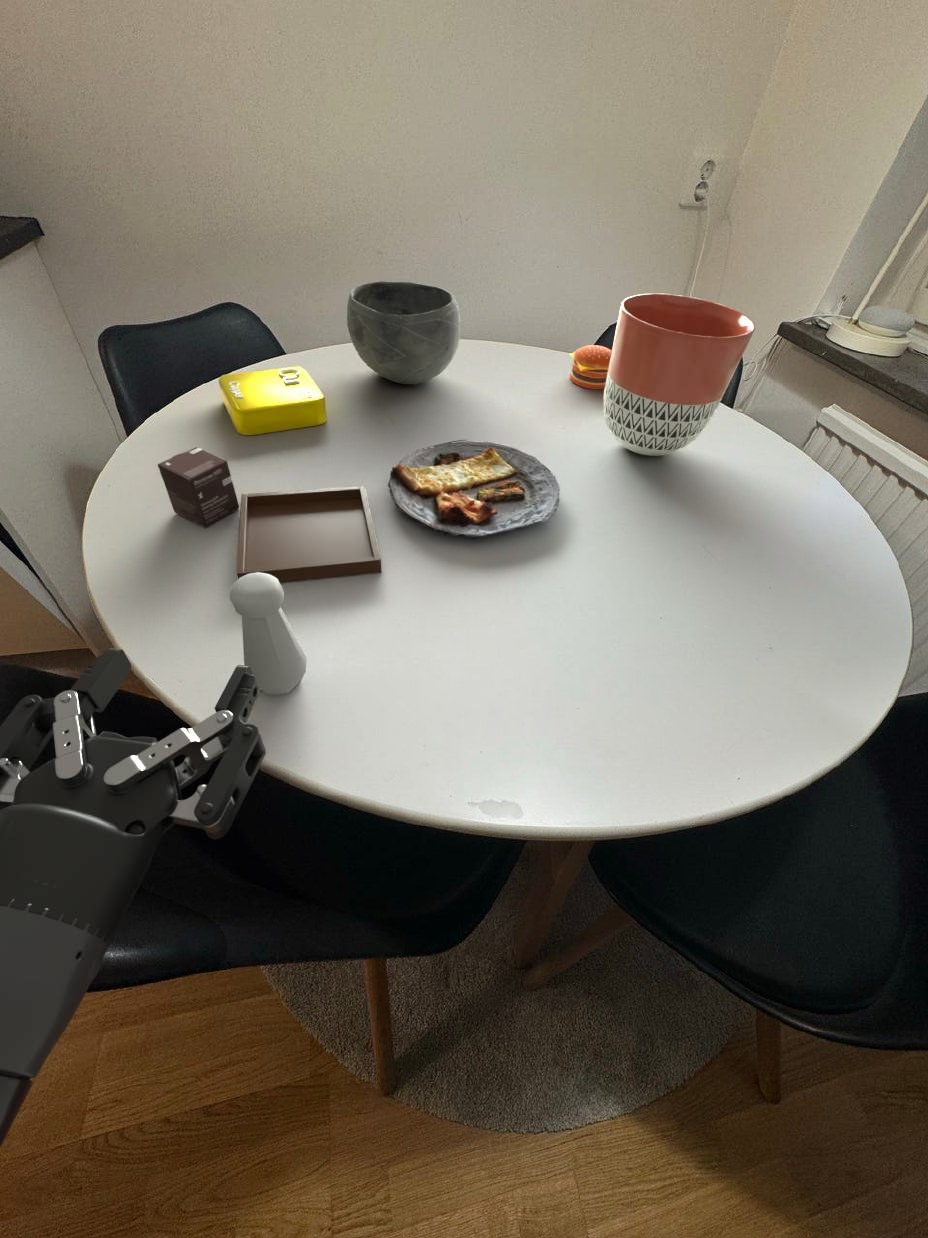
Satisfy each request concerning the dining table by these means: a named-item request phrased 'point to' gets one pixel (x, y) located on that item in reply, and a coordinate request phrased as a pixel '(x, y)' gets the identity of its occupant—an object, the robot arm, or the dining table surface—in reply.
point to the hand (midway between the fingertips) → (184, 664)
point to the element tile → (272, 400)
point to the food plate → (473, 488)
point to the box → (199, 486)
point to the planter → (670, 369)
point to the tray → (307, 534)
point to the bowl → (404, 329)
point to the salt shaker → (267, 634)
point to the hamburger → (590, 366)
